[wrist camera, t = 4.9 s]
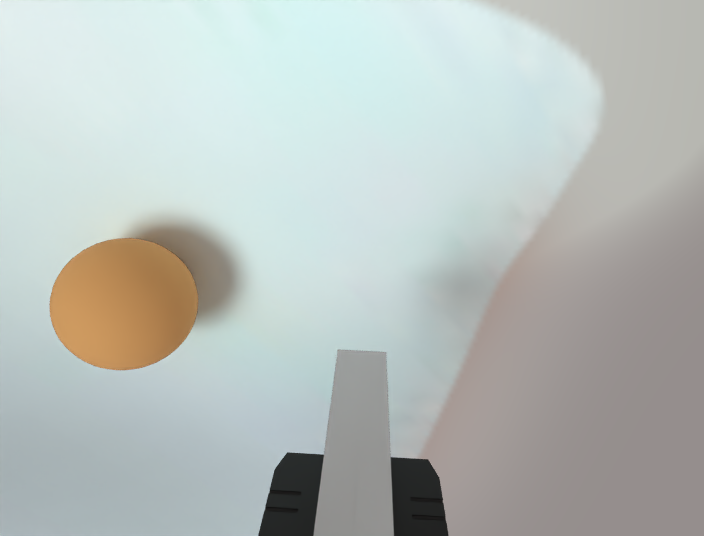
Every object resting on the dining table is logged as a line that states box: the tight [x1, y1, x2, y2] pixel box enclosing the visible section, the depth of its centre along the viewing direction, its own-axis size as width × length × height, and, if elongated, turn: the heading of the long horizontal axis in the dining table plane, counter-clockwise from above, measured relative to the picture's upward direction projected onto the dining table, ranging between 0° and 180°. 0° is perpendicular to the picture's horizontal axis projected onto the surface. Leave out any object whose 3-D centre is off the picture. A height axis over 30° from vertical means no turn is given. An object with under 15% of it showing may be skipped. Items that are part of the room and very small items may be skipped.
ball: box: [50, 238, 198, 370], centre depth 18 cm, size 6×6×6 cm
